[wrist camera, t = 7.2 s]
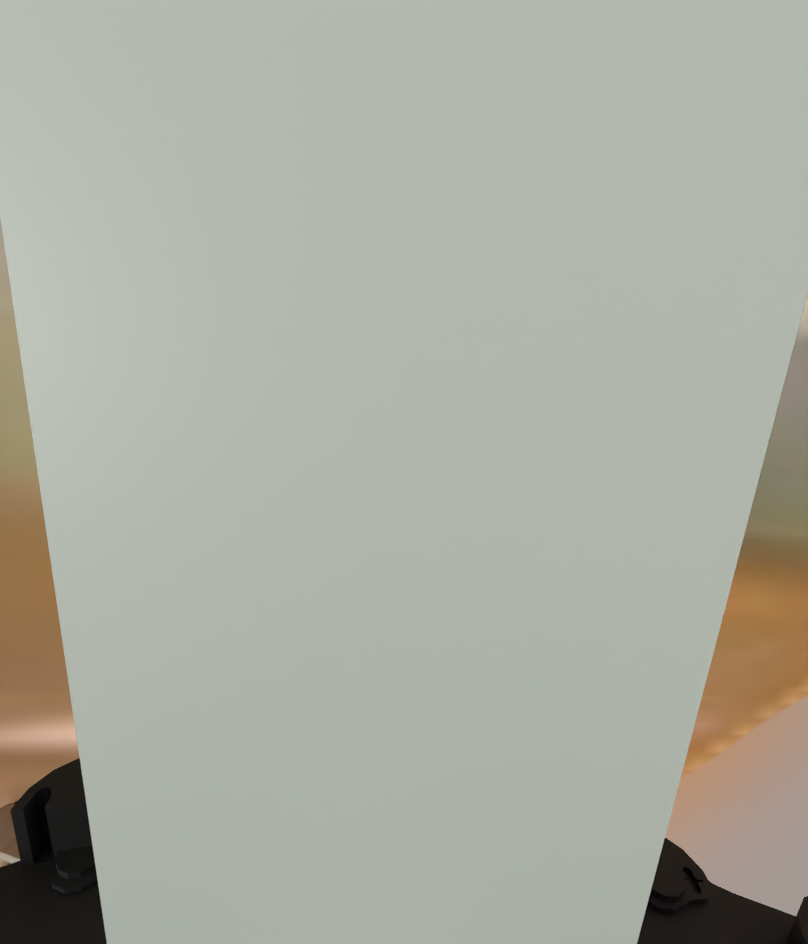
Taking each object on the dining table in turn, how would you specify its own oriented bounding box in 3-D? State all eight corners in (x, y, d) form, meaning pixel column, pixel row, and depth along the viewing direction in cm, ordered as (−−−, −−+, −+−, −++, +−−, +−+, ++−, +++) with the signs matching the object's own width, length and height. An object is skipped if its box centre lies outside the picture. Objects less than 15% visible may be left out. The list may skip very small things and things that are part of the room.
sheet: (341, 210, 12) (-178, -1004, 1) (477, 219, 12) (1103, -846, 1) (330, 678, 15) (174, 1411, 5) (436, 683, 15) (513, 1415, 5)
